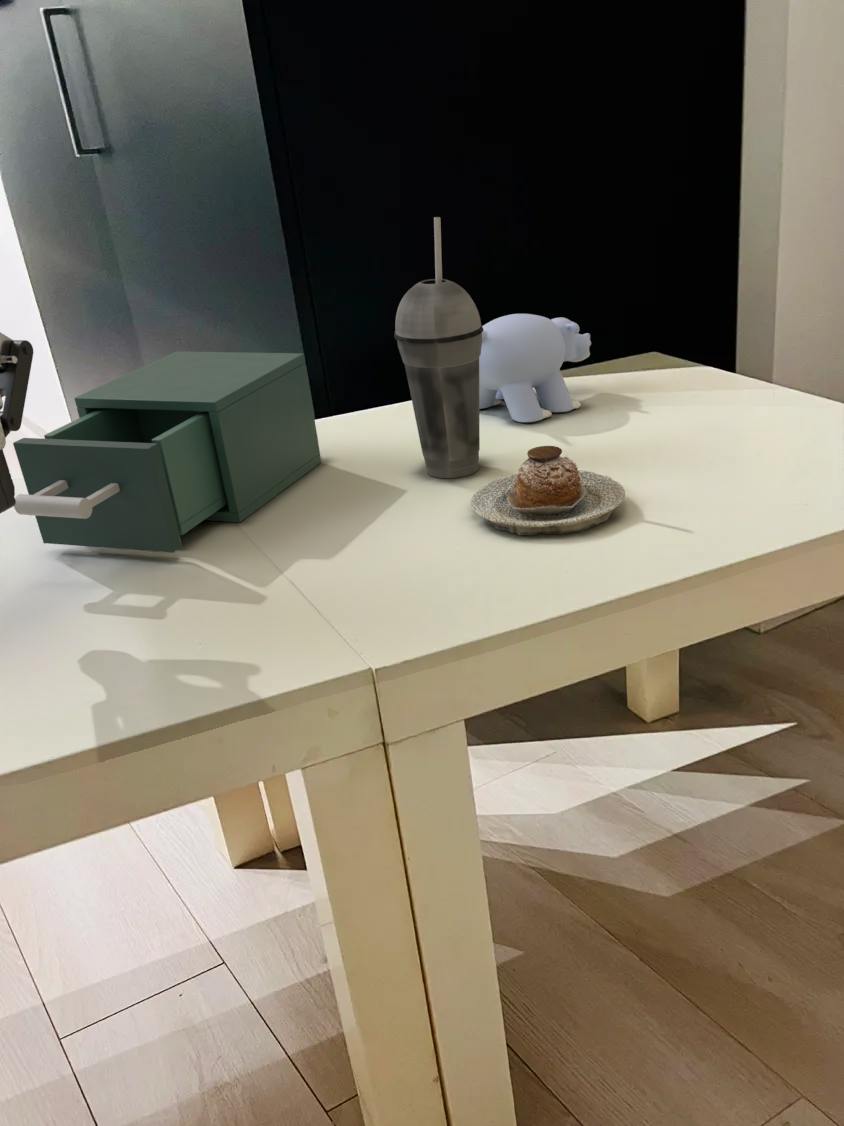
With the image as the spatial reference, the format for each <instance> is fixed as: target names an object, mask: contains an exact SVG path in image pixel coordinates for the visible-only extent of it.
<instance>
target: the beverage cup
mask: <svg viewBox="0 0 844 1126" xmlns="http://www.w3.org/2000/svg"><path fill="white" fill-rule="evenodd" d="M441 224H442V223H441V217H440V216H435V217H433V229H434V230H433V233H434V235H433V237H434V239H433V240H434V270H435V272H434V273H435V278H430V279H429V278H428V279H423V280H421V281H419V282H417V283H416V284H414V285H413V286H412V287H411V288H409V289H408V290H407V292H406V293H405V294H403V297H402V298H401V300H400V302H399V304H398V307H397V308H396V309H397V310H396V315H395V322H394V323H395V324H394V327H395V330H394V335H393V336H394V339H395V340H396V343H397V348H398V351H399V354H400V357H401V360H402V363H403V364H404V368H405V373H406V378H407V382H408V383H407V384H408V388H409V393H410V397H411V403H412V408H413V412H414V418H415V422H416V423H415V424H416V428H417V432H418V433H417V434H418V438H419V443H420V449H421V453H422V456H423V458H424V463H425V466H426V473H427V475H429V476H430V477H434V478H439V479H456V478H462V477H466V476H469V475H472V474H474V473H476V472H477V471H478V470H479V459H480V450H481V449H480V444H481V443H480V409H479V356H480V355H481V346H482V332H483V327H482V326H483V324H482V321H481V317H480V312H479V310H478V308H477V306H476V305H477V304H476V303H475V302H474V300H473V299H472V297H471V295H470V294H469V293H468V292H467V291H466V289H464V288H463V287H462V286H461V285H459V284H458V283H456V282H455V281H453V280H452V281H451V280H450V279H449V280H448V279H446V278H443V263H442V259H443V258H442V230H441V229H442V226H441Z"/></svg>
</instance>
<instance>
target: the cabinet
mask: <svg viewBox="0 0 844 1126" xmlns="http://www.w3.org/2000/svg"><path fill="white" fill-rule="evenodd" d="M73 399H74V402H75V406H76V411H77V414H78V419H79V418H81V417H83V416H85V415H87V414H89V413H91V412H93V411H96V410H98V409H100V408H108V409H138V410H168V411H199V412H209V417H210V421H211V426H212V431H213V436H214V440H215V445H216V450H217V454H218V459H219V464H220V469H221V473H222V478H223V483H224V488H225V492H226V497H227V502H228V504H226V505H225V506H223V507H222V508H221V509H219V510H218V511H216V512H215V513H213V514H212V515H211V516H209V517H208V518H206V519H205V520H204V521H214V522H215V521H216V522H230V523H241V522H243V521H244V520H245V519H247V518H248V517H250V516H251V515H252V514H254V513H255V512H256V511H258V510H259V509H260V508H262V507H263V506H265V505H266V504H267V503H268V502H270V501H271V500H273V499H274V498H275V497H276V496H278V495H279V494H281V493H282V492H283V491H285V490H286V489H287V488H288V487H291V486H292V485H293V484H294V483H296V482H297V481H298V480H299V479H301V478H302V477H304V476H305V475H306V474H307V473H309V472H310V471H311V470H313V469H314V468H316V467H317V466H318V465H320V464H322V456H321V449H320V443H319V438H318V432H317V426H316V420H315V413H314V407H313V400H312V394H311V389H310V384H309V377H308V369H307V365H306V359H305V354H304V353H301V352H299V353H297V352H295V353H294V352H238V351H236V352H235V351H233V352H231V351H230V352H229V351H175V352H172V353H170V354H168V355H166V356H163V357H162V358H158V359H157V360H155V361H152V362H149V363H148V364H145V365H143V366H141V367H139V368H137V369H134V370H133V371H130V372H128V373H126V374H123V375H121V376H119V377H116V378H115V379H112V380H110V381H108V382H105V383H103V384H101V385H99V386H97V387H95V388H93V389H91V390H87V391H86V392H84V393H82V394H80V395H77V396H75V397H74V398H73Z"/></svg>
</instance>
